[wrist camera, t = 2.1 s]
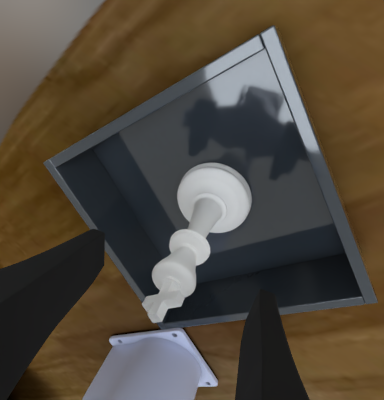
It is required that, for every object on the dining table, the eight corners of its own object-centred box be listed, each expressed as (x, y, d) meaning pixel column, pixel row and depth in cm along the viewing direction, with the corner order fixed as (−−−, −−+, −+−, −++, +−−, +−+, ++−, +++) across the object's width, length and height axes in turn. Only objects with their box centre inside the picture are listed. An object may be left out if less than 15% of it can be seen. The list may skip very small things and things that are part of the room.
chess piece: (166, 177, 20) (73, 280, 11) (232, 150, 17) (176, 252, 9) (199, 235, 21) (138, 364, 13) (264, 217, 19) (241, 359, 10)
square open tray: (179, 290, 25) (161, 330, 21) (84, 142, 21) (42, 162, 17) (362, 254, 18) (378, 303, 15) (278, 28, 14) (274, 24, 11)
